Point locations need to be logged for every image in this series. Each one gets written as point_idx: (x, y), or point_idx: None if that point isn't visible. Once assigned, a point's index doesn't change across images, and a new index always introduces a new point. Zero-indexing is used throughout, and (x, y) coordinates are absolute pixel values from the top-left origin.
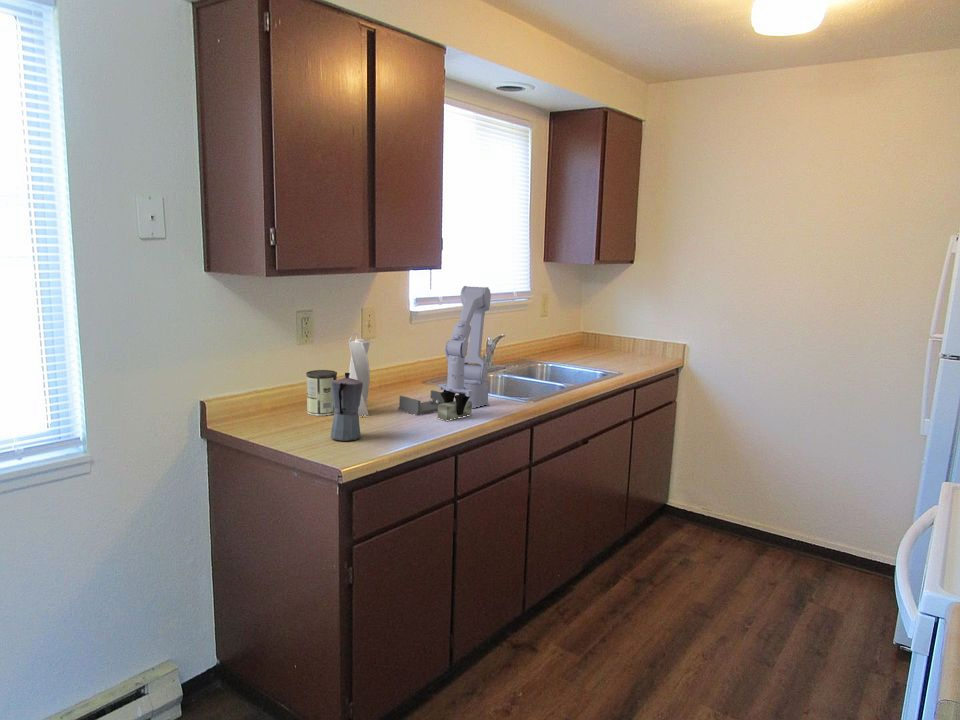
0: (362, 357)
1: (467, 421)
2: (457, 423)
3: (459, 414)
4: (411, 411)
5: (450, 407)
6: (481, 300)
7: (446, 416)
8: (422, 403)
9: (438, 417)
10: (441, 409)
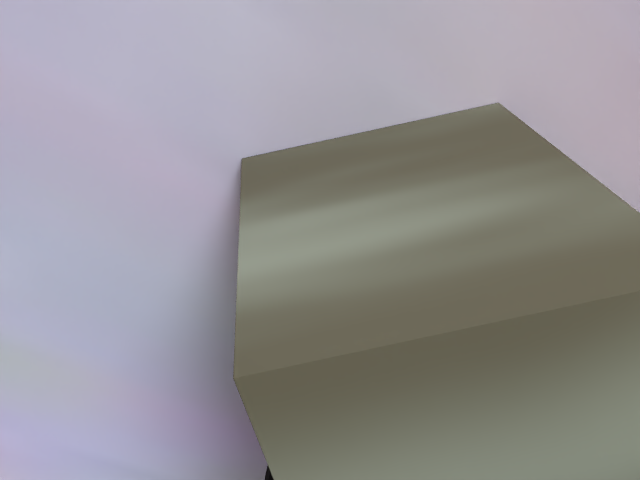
0: None
1: (120, 417)
2: (44, 260)
3: None
4: None
5: (274, 449)
6: None
7: (250, 204)
8: None
9: (485, 119)
10: (470, 239)
